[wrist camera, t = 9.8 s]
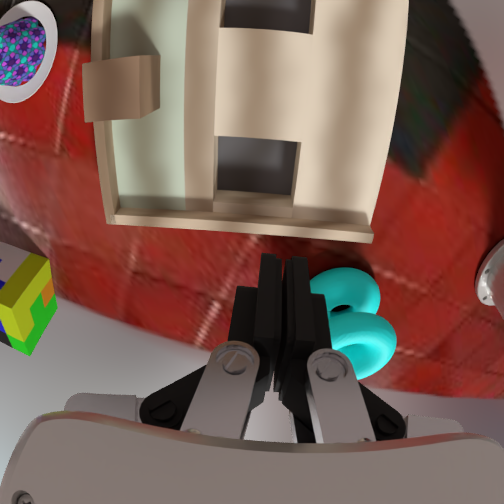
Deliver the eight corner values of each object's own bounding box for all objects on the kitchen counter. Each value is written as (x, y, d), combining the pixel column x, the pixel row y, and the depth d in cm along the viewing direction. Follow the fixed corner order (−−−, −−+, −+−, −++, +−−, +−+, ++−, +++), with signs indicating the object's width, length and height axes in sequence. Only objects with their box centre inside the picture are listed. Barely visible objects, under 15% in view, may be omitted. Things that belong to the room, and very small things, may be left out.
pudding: (10, 121, 25) (-19, 135, 21) (-21, 50, 19) (-51, 57, 15) (77, 56, 22) (46, 60, 18) (41, -20, 16) (10, -24, 12)
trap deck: (396, -21, 17) (417, -30, 13) (359, 219, 31) (371, 243, 27) (120, -34, 17) (98, -45, 13) (124, 202, 31) (106, 223, 27)
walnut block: (160, 55, 20) (139, 55, 16) (160, 108, 22) (139, 118, 19) (110, 60, 20) (82, 63, 16) (111, 110, 22) (84, 122, 19)
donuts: (365, 312, 25) (415, 354, 28) (343, 246, 33) (390, 291, 36) (282, 366, 29) (342, 395, 33) (279, 297, 37) (331, 333, 41)
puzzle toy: (-1, 240, 34) (-39, 283, 26) (49, 258, 36) (11, 308, 28) (11, 289, 40) (-18, 331, 32) (57, 307, 41) (30, 356, 33)
